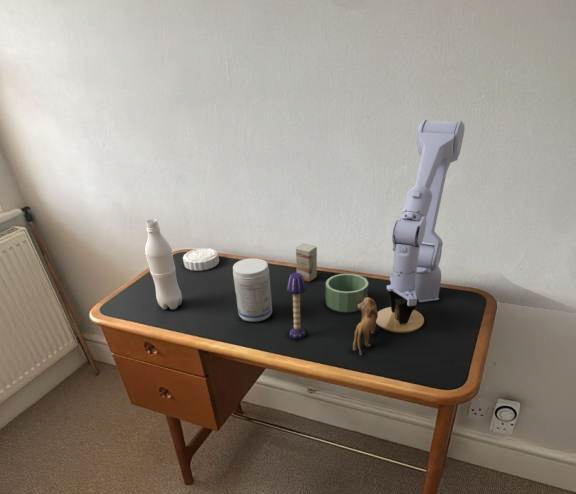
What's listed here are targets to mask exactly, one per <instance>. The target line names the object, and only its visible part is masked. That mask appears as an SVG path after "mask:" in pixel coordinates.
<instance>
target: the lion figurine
mask: <svg viewBox="0 0 576 494" xmlns="http://www.w3.org/2000/svg"><path fill="white" fill-rule="evenodd" d="M357 306H358V308H359V309H360V310H359V311H360V312H361V320H360V322H358V324H357V325H356V329H355V330H354V339H353V343H352V351H358V352H359V355H360V356H363V350H362V349H361V348H362V347H361V335H362V337H363V339H364V345H365V347H366V348H369V347H370V346H372V344H371V343H369V341H370V334H372V335H374V334H375V330H376V326H377V323H376V320H377V317H378V312H379V311H378V306H377V303H376V301H375V300H374V299H373V298H372V297H369V296H368V297H367V298H364V301H363V302H362V303H359V304H358V305H357Z"/></svg>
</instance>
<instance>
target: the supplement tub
mask: <svg viewBox="0 0 576 494" xmlns="http://www.w3.org/2000/svg"><path fill="white" fill-rule="evenodd" d="M232 276H233V285H234V292H235V297H236V305H237V306H236V307H237V313H238V316H239V317H240V318H241V319H242V320H243V321H246V322H249V323H250V322H251V323H256V322H262V321H265V320H266V319H267V320H268V319H269V317H270V316H272V313H273V302H272V301H273V300H272V291H271V279H270V268H269V263H268V262H267V261H266V260H264V259H261V258H255V257H253V258H251V257H250V258H245V259H240V260H238V261H237V262H235V263H234V264H233V266H232Z"/></svg>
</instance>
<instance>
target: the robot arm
mask: <svg viewBox="0 0 576 494" xmlns="http://www.w3.org/2000/svg"><path fill="white" fill-rule="evenodd" d="M416 134H417V135H416V146H417V151H418V154H419V156H420V160H419V164H418V169H417V172H416V173H417V174H416V177H415V178H416V179H415V183H414V186H413V187H411V188H410V189H408V191H407V194H406V197H405V201H404V204H403V207H402V209H401V210H402V211H401V214H400V217H399V219H397V220H396V221H395V222H394V225H393V229H392V233H391V234H392V236H391V239H392V251H393V252H394V253H393V263H392V272H391V273H389V282H390V284H387V285H386V286H385V289H386V291H387V294H388V298H389V303H390V307H391V310H392V313H395V306H396V304H397V308H398V320H399V323H400V324H404V323H408V320H409V318H410V316H411V314H412V312H413V310H415V308H416V307H417V306H418V305H419V303H423V302H430V301H431V302H432V301H438V300H440V298H439V296H440V289H441V284H442V270H441V268H440V262H441V258H442V254H443V253H442V252H443V245H444V243H443V242H444V241H443V239H442V238H441V236H439V235H438V234H437V233H436V231H435V230H436V226H437V221H438V216H439V212H440V206H441V202H442V197H443V193H444V188H445V182H446V178H447V174H448V171H449V167H450V166H451V163H453V162H456V161H458V159H459V156H460V153H461V149H462V145H463V140H464V134H465V123H464V121H463V120H459V121H453V120H452V121H451V120H428V119H423V120H422V121H421V122H420V124H419V126H418V129H417V133H416Z"/></svg>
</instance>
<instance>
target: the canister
mask: <svg viewBox="0 0 576 494" xmlns="http://www.w3.org/2000/svg"><path fill="white" fill-rule="evenodd" d="M367 297H369V281H368V279H367V278H366V277H363V276H362V275H360V274H355V273H340V274H335V275H333V276H330V277H329V278H328V279H327V280H326V281H325V304H326V307H328V308H329V309H331V310H332V311H335V312H340V313H352V312H353V313H354V312H358V311H360V309H359V308H358V306H357V305H358V304H359V303H362V302H363V301H364V298H367Z"/></svg>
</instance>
